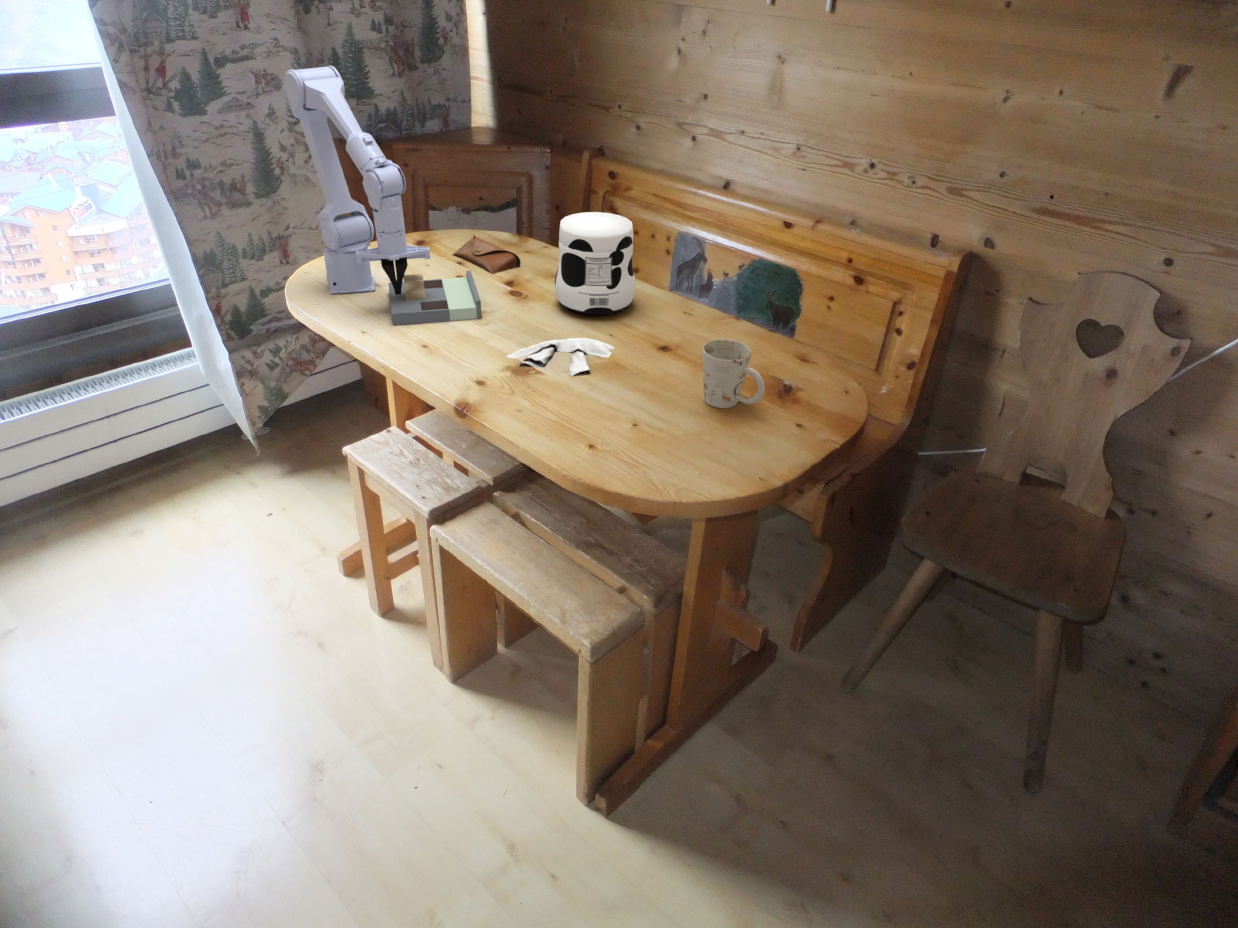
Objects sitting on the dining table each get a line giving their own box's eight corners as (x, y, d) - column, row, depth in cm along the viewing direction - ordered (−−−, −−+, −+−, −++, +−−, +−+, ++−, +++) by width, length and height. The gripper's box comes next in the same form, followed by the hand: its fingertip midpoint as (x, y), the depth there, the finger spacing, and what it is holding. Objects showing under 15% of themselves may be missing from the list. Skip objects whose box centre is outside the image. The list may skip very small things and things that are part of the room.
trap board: (393, 325, 164) (390, 307, 162) (389, 293, 177) (387, 276, 175) (481, 318, 168) (480, 300, 166) (471, 287, 182) (470, 270, 180)
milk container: (596, 283, 186) (597, 205, 176) (650, 306, 177) (655, 225, 166) (538, 303, 176) (537, 221, 166) (593, 328, 166) (594, 243, 156)
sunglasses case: (448, 254, 199) (457, 228, 197) (469, 262, 204) (478, 237, 203) (493, 275, 188) (503, 247, 187) (514, 283, 194) (524, 256, 193)
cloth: (625, 346, 161) (626, 335, 160) (593, 398, 144) (593, 386, 142) (529, 331, 165) (529, 320, 164) (487, 380, 148) (486, 368, 147)
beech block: (406, 300, 168) (403, 282, 166) (405, 293, 172) (403, 275, 169) (425, 299, 169) (423, 281, 167) (424, 291, 173) (422, 274, 170)
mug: (714, 384, 148) (720, 334, 143) (773, 407, 142) (782, 356, 136) (688, 400, 143) (693, 349, 137) (748, 425, 136) (756, 373, 131)
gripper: (352, 237, 157) (362, 302, 164) (428, 233, 160) (434, 297, 168) (352, 226, 162) (362, 289, 170) (425, 222, 166) (432, 285, 173)
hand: (398, 293), depth 169 cm, fingers closed
